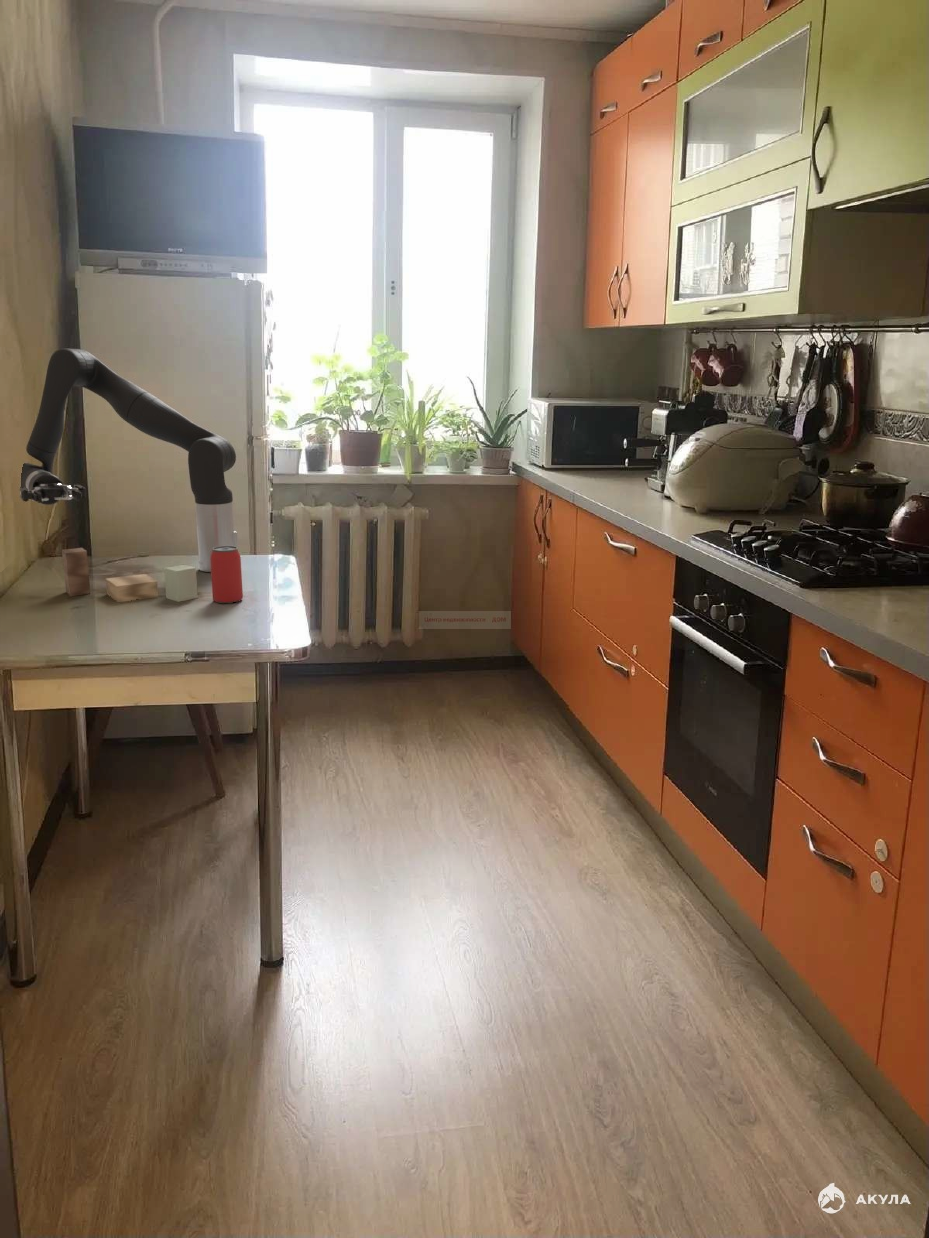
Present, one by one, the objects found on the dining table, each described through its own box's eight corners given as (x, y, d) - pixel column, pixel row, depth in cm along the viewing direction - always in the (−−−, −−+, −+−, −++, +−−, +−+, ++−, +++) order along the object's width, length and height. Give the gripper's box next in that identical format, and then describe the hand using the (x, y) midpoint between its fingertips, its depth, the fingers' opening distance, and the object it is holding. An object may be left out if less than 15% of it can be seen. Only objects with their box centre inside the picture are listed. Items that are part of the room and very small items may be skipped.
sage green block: (185, 594, 231) (183, 564, 229) (197, 597, 228) (195, 567, 226) (166, 598, 228) (164, 567, 226) (178, 601, 224) (176, 571, 223)
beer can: (246, 597, 228) (243, 545, 225) (237, 604, 222) (234, 551, 219) (218, 596, 229) (215, 545, 226) (208, 603, 223) (205, 550, 219)
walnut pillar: (86, 589, 235) (82, 547, 232) (90, 593, 231) (86, 551, 229) (66, 592, 233) (61, 549, 230) (70, 596, 229) (65, 553, 226)
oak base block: (146, 590, 236) (144, 573, 235) (158, 598, 229) (156, 581, 228) (107, 595, 231) (105, 578, 230) (118, 603, 224) (116, 586, 223)
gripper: (12, 473, 243) (25, 483, 230) (73, 470, 251) (90, 480, 238) (14, 503, 245) (28, 515, 232) (75, 500, 253) (92, 511, 240)
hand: (59, 497), depth 235 cm, fingers open, 8 cm apart
